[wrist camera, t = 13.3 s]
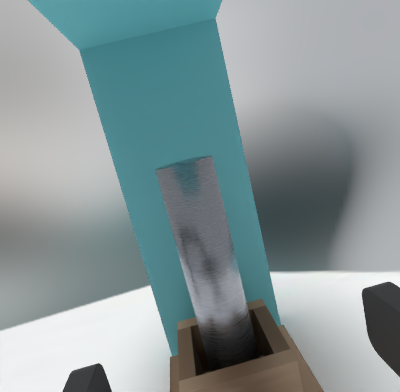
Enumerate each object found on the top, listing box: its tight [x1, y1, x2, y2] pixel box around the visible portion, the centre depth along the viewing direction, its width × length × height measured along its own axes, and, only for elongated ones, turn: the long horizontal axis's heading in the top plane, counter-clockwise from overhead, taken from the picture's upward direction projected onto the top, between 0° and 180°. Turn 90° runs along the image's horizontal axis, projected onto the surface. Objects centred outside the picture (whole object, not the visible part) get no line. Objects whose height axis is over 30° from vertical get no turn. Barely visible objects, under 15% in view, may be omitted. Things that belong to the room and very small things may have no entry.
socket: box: [170, 299, 324, 392], centre depth 21 cm, size 10×10×5 cm
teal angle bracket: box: [28, 0, 281, 356], centre depth 19 cm, size 10×15×28 cm, turn 6°
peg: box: [155, 155, 259, 372], centre depth 19 cm, size 3×3×16 cm
